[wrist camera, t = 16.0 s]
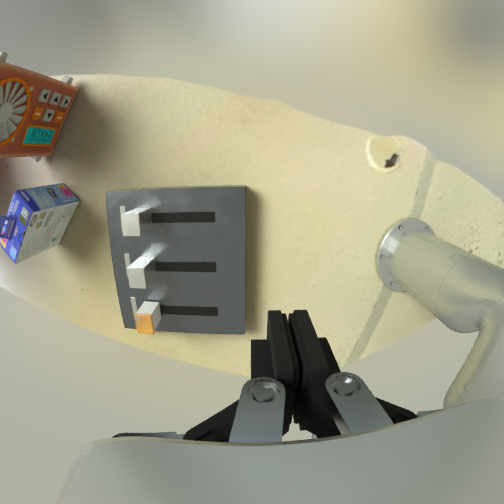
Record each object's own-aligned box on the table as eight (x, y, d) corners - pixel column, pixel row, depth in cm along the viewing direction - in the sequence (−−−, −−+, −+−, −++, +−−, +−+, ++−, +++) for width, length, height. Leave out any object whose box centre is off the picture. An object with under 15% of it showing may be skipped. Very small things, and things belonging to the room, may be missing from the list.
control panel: (85, 82, 32) (52, 164, 36) (60, 75, 31) (30, 152, 35) (-2, 48, 12) (-43, 174, 15) (-22, 47, 11) (-59, 159, 14)
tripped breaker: (159, 301, 39) (150, 316, 35) (161, 318, 40) (153, 334, 36) (144, 300, 39) (133, 315, 35) (147, 317, 40) (137, 332, 36)
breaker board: (245, 185, 38) (244, 188, 31) (245, 324, 44) (244, 352, 37) (114, 190, 38) (88, 195, 30) (130, 319, 44) (113, 343, 37)
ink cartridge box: (62, 180, 37) (2, 190, 23) (81, 199, 38) (23, 215, 24) (41, 226, 39) (-13, 247, 25) (59, 244, 40) (6, 272, 26)
